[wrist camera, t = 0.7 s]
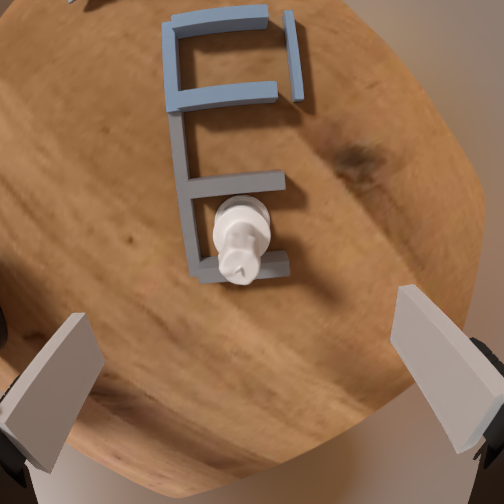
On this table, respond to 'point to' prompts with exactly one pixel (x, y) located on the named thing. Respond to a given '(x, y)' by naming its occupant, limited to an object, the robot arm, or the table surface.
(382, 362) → the table surface
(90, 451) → the table surface
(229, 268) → the candle
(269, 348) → the table surface
